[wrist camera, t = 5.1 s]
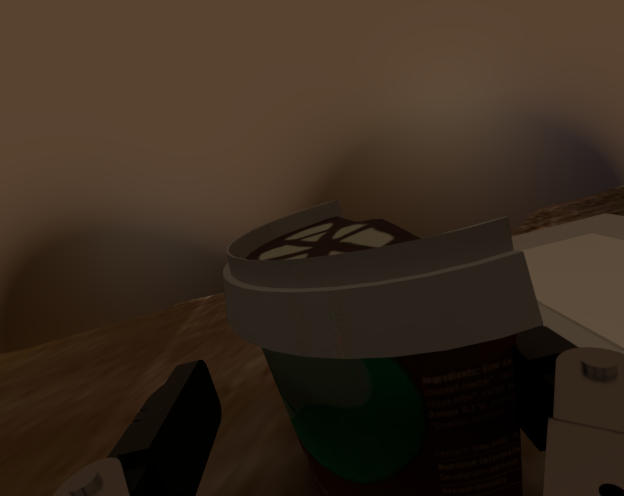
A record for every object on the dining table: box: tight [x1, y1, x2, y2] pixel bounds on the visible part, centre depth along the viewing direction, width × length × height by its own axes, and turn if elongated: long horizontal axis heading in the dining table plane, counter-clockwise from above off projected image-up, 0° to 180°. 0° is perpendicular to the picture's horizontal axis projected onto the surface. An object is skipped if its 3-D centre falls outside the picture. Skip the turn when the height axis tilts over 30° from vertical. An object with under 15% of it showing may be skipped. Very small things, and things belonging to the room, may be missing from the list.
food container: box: [223, 200, 544, 496], centre depth 12 cm, size 12×6×10 cm, turn 12°
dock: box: [512, 214, 624, 354], centre depth 20 cm, size 20×24×1 cm
